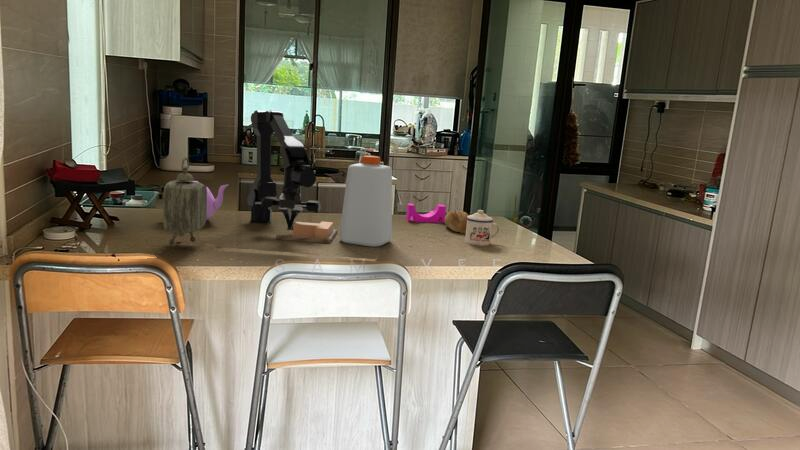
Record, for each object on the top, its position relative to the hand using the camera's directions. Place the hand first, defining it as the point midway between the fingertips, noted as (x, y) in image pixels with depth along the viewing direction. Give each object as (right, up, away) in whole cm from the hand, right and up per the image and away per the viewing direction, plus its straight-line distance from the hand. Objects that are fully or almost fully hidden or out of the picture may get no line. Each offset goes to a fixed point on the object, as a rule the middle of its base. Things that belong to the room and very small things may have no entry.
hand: (290, 229), depth 199 cm
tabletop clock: (-27, -4, -21) cm, 34 cm away
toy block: (+46, +2, +41) cm, 62 cm away
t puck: (+7, -2, 0) cm, 8 cm away
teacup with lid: (+65, -5, +9) cm, 66 cm away
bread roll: (+58, -1, +28) cm, 65 cm away
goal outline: (+6, -2, 0) cm, 7 cm away
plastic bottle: (+25, -4, -2) cm, 26 cm away
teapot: (-35, +3, +12) cm, 37 cm away
